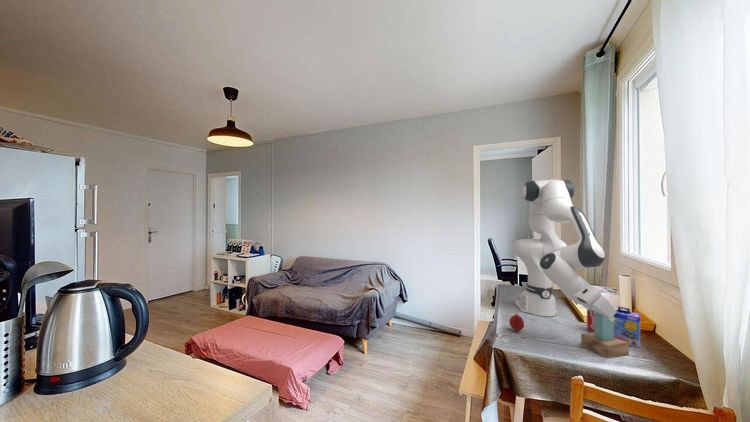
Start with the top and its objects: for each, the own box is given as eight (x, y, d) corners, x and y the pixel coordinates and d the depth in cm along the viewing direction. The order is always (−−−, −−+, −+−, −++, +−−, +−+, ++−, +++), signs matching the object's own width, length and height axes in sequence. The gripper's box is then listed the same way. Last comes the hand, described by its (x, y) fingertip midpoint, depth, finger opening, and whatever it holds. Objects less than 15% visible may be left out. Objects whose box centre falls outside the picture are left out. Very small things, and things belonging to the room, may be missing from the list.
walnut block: (581, 346, 109) (581, 333, 109) (600, 343, 112) (600, 331, 112) (607, 359, 99) (607, 345, 99) (628, 356, 102) (628, 342, 102)
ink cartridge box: (607, 339, 115) (607, 305, 115) (608, 335, 118) (608, 302, 119) (640, 348, 107) (640, 311, 108) (640, 343, 111) (640, 308, 111)
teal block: (594, 335, 108) (594, 310, 108) (605, 335, 107) (605, 310, 107) (602, 340, 104) (602, 313, 104) (613, 340, 103) (613, 314, 104)
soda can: (611, 336, 118) (611, 308, 118) (592, 334, 119) (592, 307, 119) (601, 329, 125) (601, 303, 125) (583, 328, 126) (583, 301, 126)
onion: (523, 330, 123) (523, 312, 123) (524, 335, 118) (524, 316, 118) (509, 327, 126) (509, 310, 126) (509, 332, 120) (509, 314, 120)
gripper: (553, 287, 116) (577, 311, 116) (589, 303, 96) (618, 332, 95) (564, 277, 116) (588, 301, 116) (602, 290, 96) (631, 319, 95)
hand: (602, 315), depth 105 cm, fingers open, 8 cm apart
